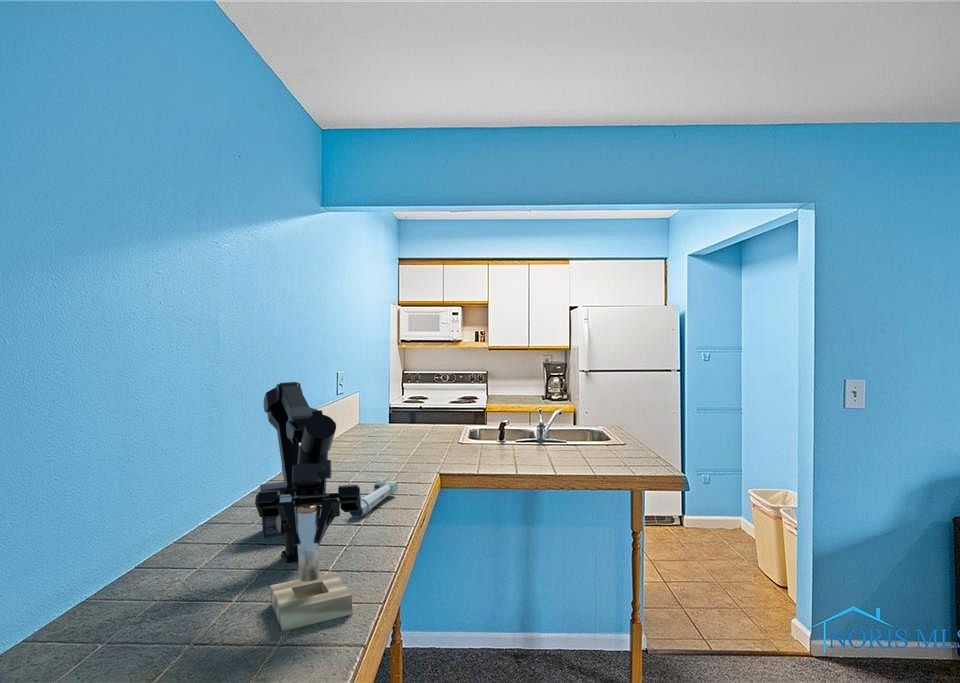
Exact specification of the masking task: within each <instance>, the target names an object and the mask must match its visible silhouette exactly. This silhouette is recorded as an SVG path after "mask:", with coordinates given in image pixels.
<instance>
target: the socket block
mask: <svg viewBox="0 0 960 683" xmlns="http://www.w3.org/2000/svg"><path fill="white" fill-rule="evenodd" d="M269 586H270V604H271V607H272V610H273V612H274V615H275V617H276V619H277V622H278V624H279V626H280V628H281V631H282V632H286V631H290V630H292V629H299V628H302V627H305V626H309V625H313V624H318V623H323V622H325V621H330V620H334V619H339V618H343V617H348V616H351V615H353V596H352V593H351V591H350V590H349V589H348V588H347V586H346V585H345V584H344V583H343V581H342V580H341V578H340V577H339V576H338V574H337V573H336V572H335V571H333V572H328V573H322V574H320V577H319V578H318V579H316V580H313V581H307V582H304V581H300V580H299V579H296V580H290V581H284V582H280V583H277V584H275V583H274V584H272V585H271V584H270V585H269Z"/></svg>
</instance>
